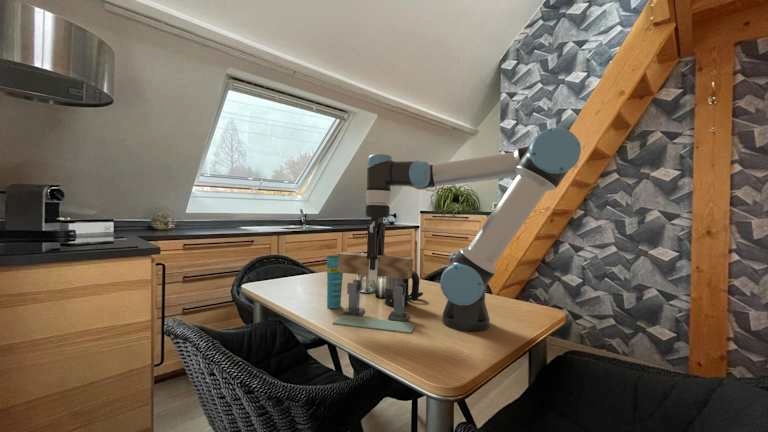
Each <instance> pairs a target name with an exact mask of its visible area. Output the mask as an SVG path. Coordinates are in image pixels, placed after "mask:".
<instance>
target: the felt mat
mask: <svg viewBox="0 0 768 432" xmlns="http://www.w3.org/2000/svg"><path fill="white" fill-rule="evenodd" d="M332 325H338V326H339V325H340V326H349V327H355V328H364V329H372V330H379V331H387V332H395V333H404V334H412V333H413V332H414V331H413V330H414V328H415V327H416V323H414V322H406V321H397V320H388V319H380V318H371V317H364V316H354V315H345V314H341V315H340V316H339V317H338V318H337V319H335V320H334V321H333V322H332Z"/></svg>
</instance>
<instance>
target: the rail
mask: <svg viewBox="0 0 768 432" xmlns="http://www.w3.org/2000/svg"><path fill="white" fill-rule="evenodd" d="M338 255H339V263H338V272H339V273H343V274H348V275H349V274H352V275H360V276H361V275H362V276H368V274H369V259H366V257H367V253H357V252H345V251H343V252H340V253H338ZM377 259H378V276H381V278H386V277H392V278H403V279H409V280H412V278H411V277H412V271H414V269H413V265H414V257H411V256H398V255H397V256H396V255H386V254H385V255H377Z"/></svg>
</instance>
